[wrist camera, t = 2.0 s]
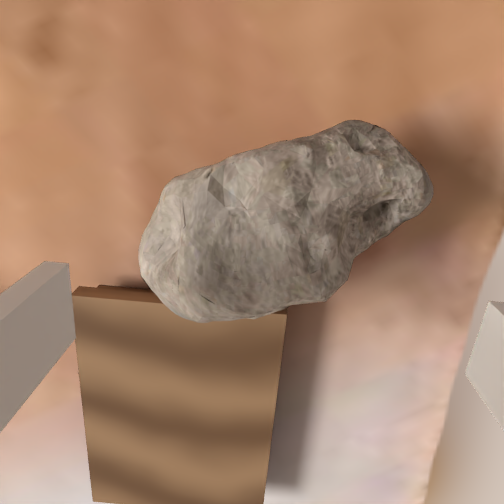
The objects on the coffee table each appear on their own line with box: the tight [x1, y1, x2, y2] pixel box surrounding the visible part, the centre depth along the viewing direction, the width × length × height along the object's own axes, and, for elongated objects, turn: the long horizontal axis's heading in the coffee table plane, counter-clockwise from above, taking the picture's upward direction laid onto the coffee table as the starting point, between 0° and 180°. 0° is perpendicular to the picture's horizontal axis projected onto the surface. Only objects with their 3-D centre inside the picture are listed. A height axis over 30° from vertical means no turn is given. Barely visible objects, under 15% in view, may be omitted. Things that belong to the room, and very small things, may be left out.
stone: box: [139, 120, 433, 323], centre depth 20 cm, size 9×14×10 cm, turn 104°
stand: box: [72, 285, 287, 504], centre depth 29 cm, size 18×13×3 cm
